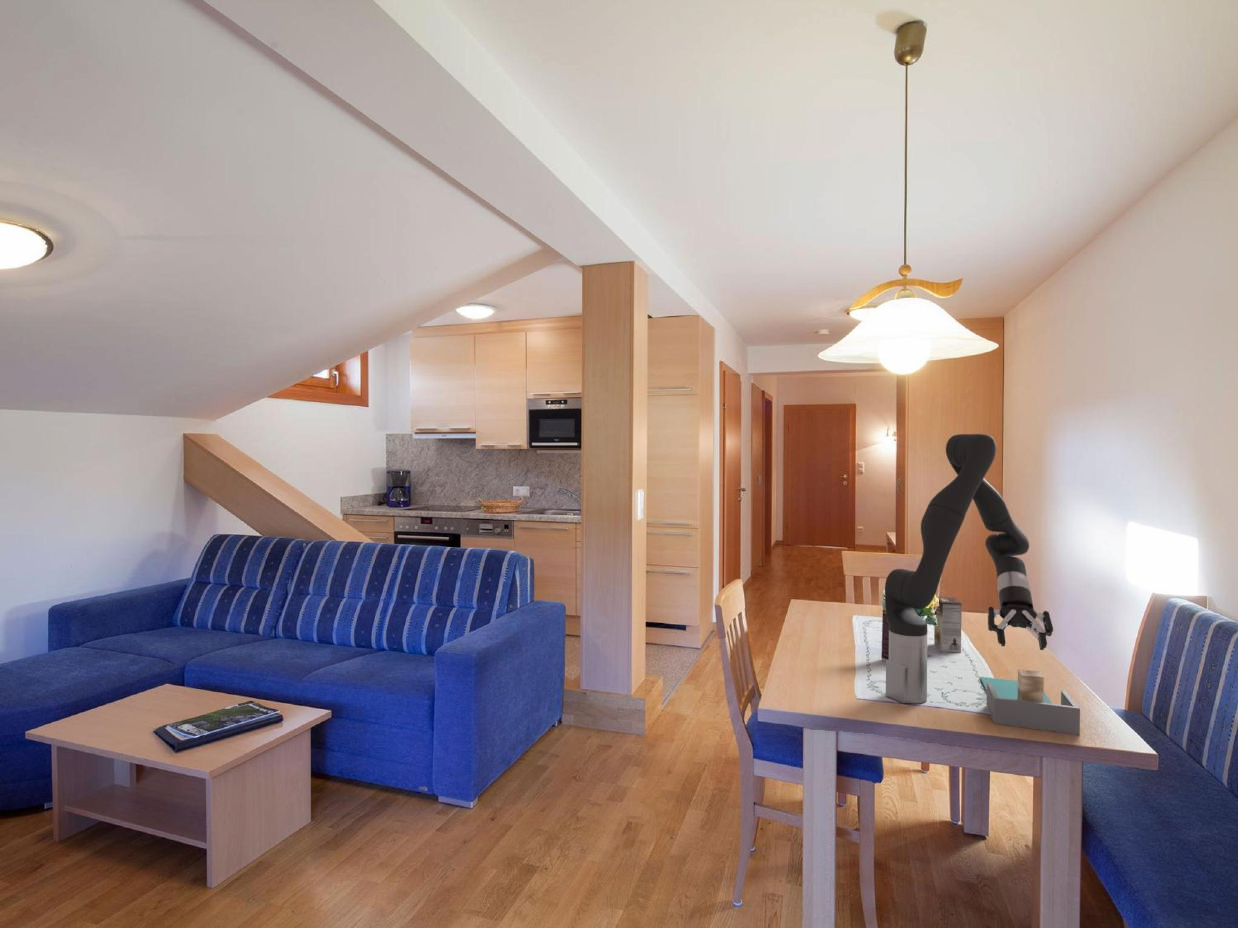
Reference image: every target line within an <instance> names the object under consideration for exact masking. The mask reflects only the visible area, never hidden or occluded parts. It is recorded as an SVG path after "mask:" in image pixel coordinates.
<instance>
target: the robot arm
mask: <svg viewBox="0 0 1238 928" xmlns="http://www.w3.org/2000/svg"><path fill="white" fill-rule="evenodd" d="M996 453H997V443H996V441H995V438H994V437H992V436H991V435H990V434H985V433H963V434H962V433H960V434H955V435H952V436H950V438H949V439H948V440H947V442H946V445H945V454H946V457H947V459H948V462H949V464H950V465H951V468H952V469H953V470H954V471H955V473H956V474H957V476H956V477H955V478H954V479H953V480H952V481H951V482H949V484H947V485H946V486H945V487H944V488H942V489H941V490H940V491H939V492H937V493H936V494H935V495H934V497H932V499H931V500H930V501H929V503H928V505H927V507H926V509H925V512H924V514H923V516H922V518H921V522H920V534H921V541H922V547H923V549H922V550H923V551H922V555H921V558H920V562H919V564H918V566H917V568H916V570H915V571H914V570H910V569H903V568H895V569H893V570H892V571H890V572H889V573H888V575H887V576H886V577H887V578H886V579H885V580H886V581H885V585H884V601H885V602H884V604H885V609H886V618H887V621H888V624H889V659H888V660H886V662H885V696H886V697H888V698H891V699H892V700H895V701H898V702H900V703H902V704H923V703H926V702H927V701H928V624H927V622H926V621H925V620H924V619H923V618H922V617H920V616H919V615H918V613H917V612H916V610H915V609H917V610H923V609H925V608H927V607H928V606H929V605H931V603H932V601H933V600H934V599H935V597H936V593H937V590H938V588H939V584H940V581H941V578H942V575H943V572H944V569H945V565H946V562H947V560H948V556H949V555H950V552H951V549H952V546H953V545H954V543H955V540H956V537H957V536H958V534H959V531H960V529H961V528H962V524H963V522H964V521H965V517H966V514H967V512H968V510H969V508H970V506H971V503H972V501H974V504H975V506H976V509H977V511H978V514H979V516H980V518H981V521H982V522H983V523H982V524H983V525H984V527H985V529H986V530H987V531H989V532H993V534H990V535H988V536H987V537H986V539H985V542H984V543H985V548H986V550H987V552H988V554H989V556H990V557H991V559H992V561H993V563H994V567H995V572H996V577H997V593H998V599H999V607H1000V608H999V609H995V608H994V607H993V606H989V607H988V610H987V626H988V627H987V629H988V631H989V632H995V633H996V638H997V643H998V644H999V645H1000V646H1001V647H1006V636H1005V630H1007V629H1008V627H1009V626H1011V627H1012V628H1021V629H1027V628H1028V630H1030V631H1031V632H1032V633H1035V634H1036V635H1037V641H1038V645H1039V646H1038V647H1039V650H1040V651H1044V650H1045V649H1046V648H1047V646H1048V641H1047V637H1051V636H1052V635H1053V632H1054V626H1053V624H1052V619H1051V615H1050V612H1049V611H1048V610H1044V611H1043V612H1036V610H1035V608H1034V603H1033V598H1032V593H1031V586H1030V583H1029V580H1028V575H1027V570H1026V565H1025V562H1024V560H1022V559H1021V558H1020V557H1018V556H1022V555H1025V554H1026V553H1028V551H1029V548H1030V542H1029V539H1028V538H1027V537H1028V536H1026V534H1025V533H1024V532H1023V531H1022V530H1021V529H1020V528H1019V526H1018V525H1017V524H1016V523H1015V521H1014V520H1013V517H1012V516H1011V513H1010V512H1009V508H1008V507H1007V503H1006V501H1005V499H1004V498H1003V496H1002V495H1001V494H1000V493H999V492H998V491H997V490H996V488H994V486H992V485H991V484H990V483H989V482H988V481H987V480H986V478H985V477H986V475H987V474H988V472H989V470H990V468H991V466H992V464H993V462H994V461H995V457H996ZM995 532H998V533H995ZM998 615H999V616H1000V617H1001V618H1002V620H1001V621H1000V622H999V624H997V623H995V619H996V618H997V616H998ZM1036 619H1038V620H1039V621H1040V622H1041V623H1042V624H1043V626H1042V625H1041V624H1040V623H1039V621H1037V620H1036Z"/></svg>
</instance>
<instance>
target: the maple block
mask: <svg viewBox="0 0 1238 928" xmlns="http://www.w3.org/2000/svg"><path fill="white" fill-rule="evenodd" d="M1044 679H1045V678H1044V676H1043V674H1042V673H1041V671H1037V670H1027V669H1017V681H1018V700H1024V701H1033V702H1041V703H1043V693H1045V690H1044V688H1045V687H1044V685H1045V684H1044V682H1045V681H1044Z"/></svg>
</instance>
